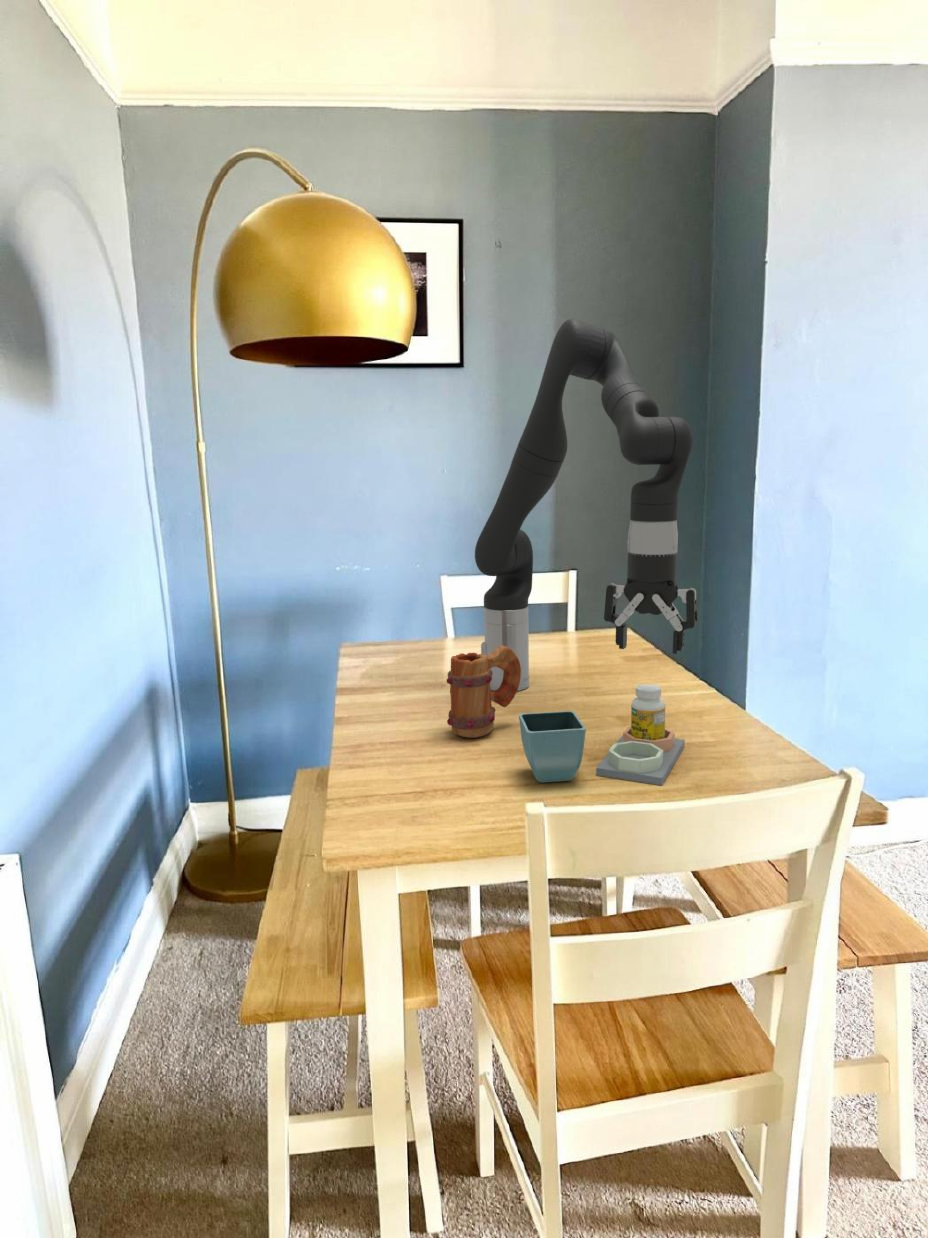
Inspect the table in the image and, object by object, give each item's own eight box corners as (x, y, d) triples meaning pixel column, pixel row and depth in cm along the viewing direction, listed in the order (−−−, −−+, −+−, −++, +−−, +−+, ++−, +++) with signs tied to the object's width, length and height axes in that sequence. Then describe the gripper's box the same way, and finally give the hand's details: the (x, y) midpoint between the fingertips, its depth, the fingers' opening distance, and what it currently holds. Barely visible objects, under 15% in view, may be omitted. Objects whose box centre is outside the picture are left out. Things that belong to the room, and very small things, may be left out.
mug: (458, 746, 134) (455, 660, 131) (437, 731, 142) (434, 650, 139) (531, 730, 141) (530, 648, 138) (508, 717, 148) (506, 639, 145)
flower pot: (518, 767, 125) (517, 712, 123) (573, 763, 126) (573, 709, 124) (527, 790, 116) (527, 732, 115) (586, 786, 117) (586, 728, 115)
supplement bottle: (671, 745, 129) (673, 688, 127) (648, 752, 126) (649, 694, 124) (646, 735, 133) (648, 681, 131) (623, 742, 130) (624, 687, 129)
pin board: (596, 775, 121) (596, 755, 120) (625, 738, 136) (625, 720, 135) (662, 785, 116) (662, 765, 116) (684, 746, 131) (685, 728, 131)
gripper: (703, 548, 123) (699, 649, 126) (614, 544, 129) (611, 641, 133) (694, 554, 116) (689, 661, 120) (600, 550, 123) (598, 651, 126)
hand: (648, 650), depth 126 cm, fingers open, 8 cm apart
